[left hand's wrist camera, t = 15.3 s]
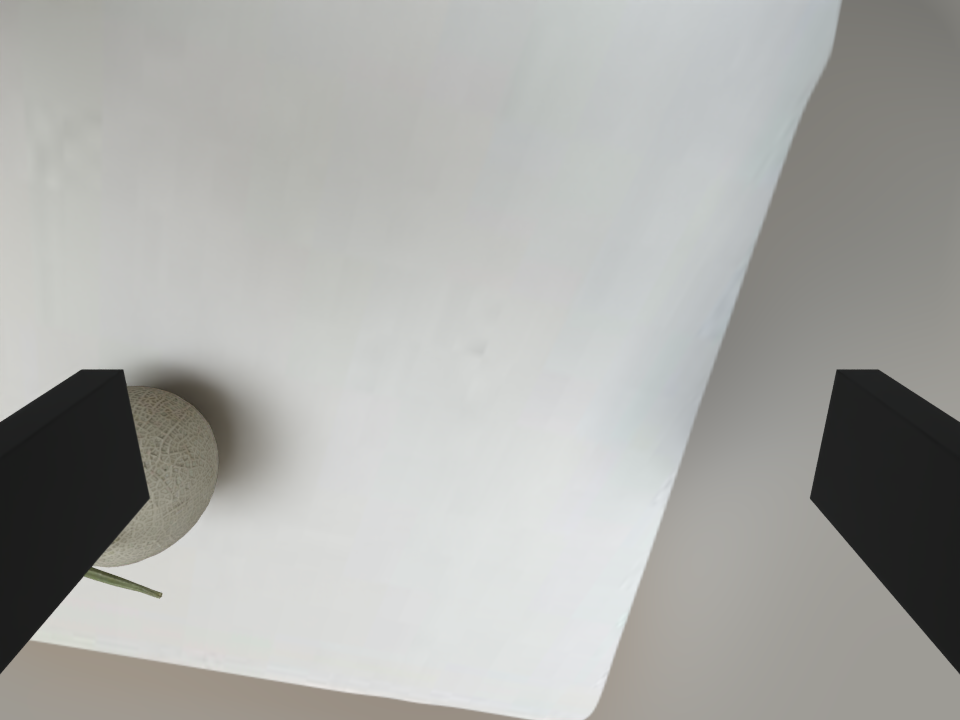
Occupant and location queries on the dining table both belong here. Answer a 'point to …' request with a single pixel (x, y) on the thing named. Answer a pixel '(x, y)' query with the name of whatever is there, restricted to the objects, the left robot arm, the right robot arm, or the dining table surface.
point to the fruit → (164, 480)
